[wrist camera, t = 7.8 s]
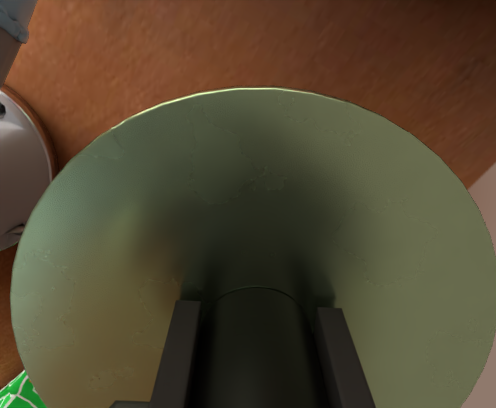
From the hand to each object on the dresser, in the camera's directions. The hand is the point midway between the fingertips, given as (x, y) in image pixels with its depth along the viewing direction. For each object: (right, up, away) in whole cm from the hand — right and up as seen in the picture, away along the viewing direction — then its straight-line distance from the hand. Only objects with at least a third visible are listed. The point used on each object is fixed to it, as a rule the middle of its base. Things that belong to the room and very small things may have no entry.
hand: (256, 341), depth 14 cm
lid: (0, 0, +1) cm, 1 cm away
